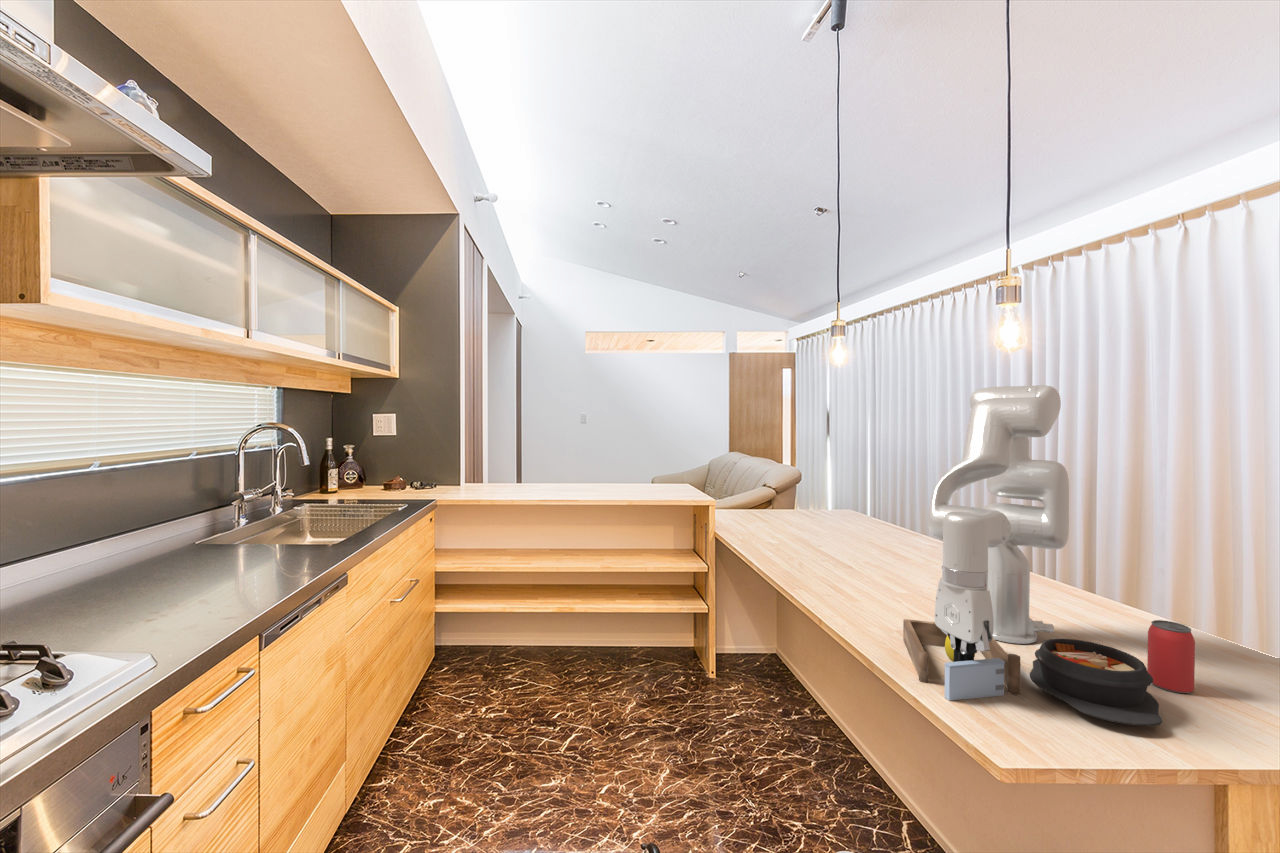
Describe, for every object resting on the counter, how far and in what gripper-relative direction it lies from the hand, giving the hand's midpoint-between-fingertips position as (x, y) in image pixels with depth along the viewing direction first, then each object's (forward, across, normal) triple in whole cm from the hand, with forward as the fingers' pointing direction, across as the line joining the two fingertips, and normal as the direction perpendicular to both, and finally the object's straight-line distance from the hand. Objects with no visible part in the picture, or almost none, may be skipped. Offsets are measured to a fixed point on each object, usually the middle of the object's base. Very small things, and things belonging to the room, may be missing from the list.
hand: (963, 671), depth 105 cm
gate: (+3, +3, 0) cm, 4 cm away
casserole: (+4, +8, +20) cm, 22 cm away
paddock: (+3, -9, +6) cm, 12 cm away
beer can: (+3, +8, +40) cm, 41 cm away
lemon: (+4, -8, +7) cm, 11 cm away
